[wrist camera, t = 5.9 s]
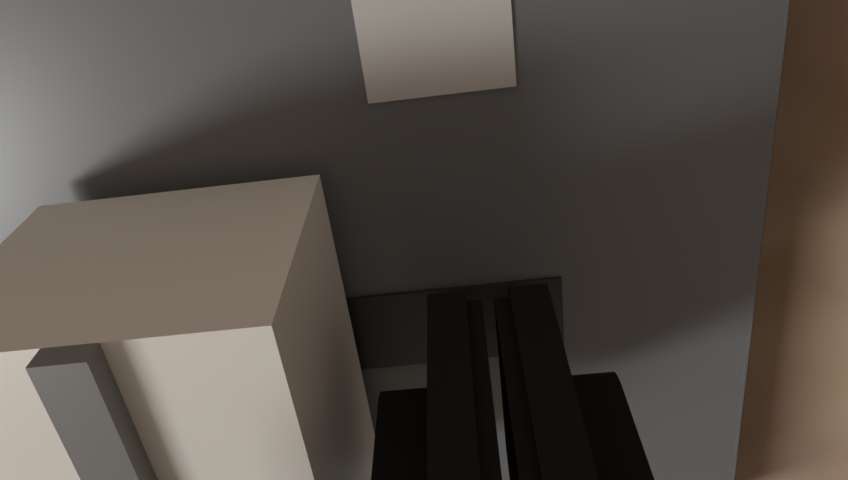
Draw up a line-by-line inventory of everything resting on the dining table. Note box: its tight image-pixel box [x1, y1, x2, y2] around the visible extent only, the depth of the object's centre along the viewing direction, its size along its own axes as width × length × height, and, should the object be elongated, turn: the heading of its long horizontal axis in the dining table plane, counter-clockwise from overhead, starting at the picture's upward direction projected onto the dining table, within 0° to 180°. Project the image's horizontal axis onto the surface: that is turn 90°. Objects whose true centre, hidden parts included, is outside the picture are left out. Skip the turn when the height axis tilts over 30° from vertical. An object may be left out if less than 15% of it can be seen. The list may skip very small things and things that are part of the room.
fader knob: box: [0, 174, 375, 480], centre depth 10 cm, size 4×6×4 cm, turn 7°
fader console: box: [0, 0, 790, 480], centre depth 13 cm, size 25×14×2 cm, turn 97°
